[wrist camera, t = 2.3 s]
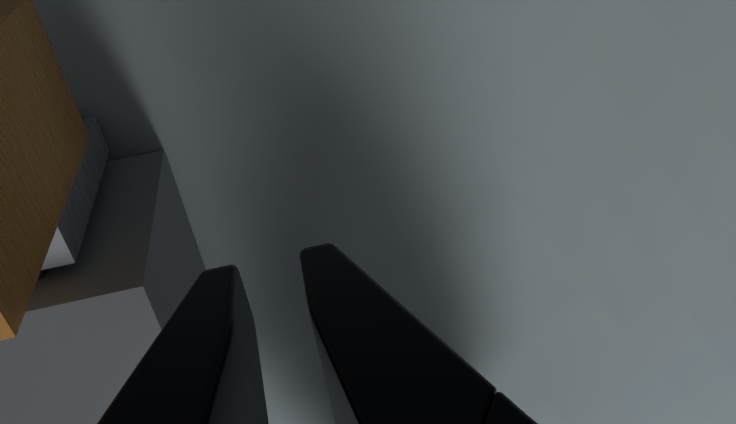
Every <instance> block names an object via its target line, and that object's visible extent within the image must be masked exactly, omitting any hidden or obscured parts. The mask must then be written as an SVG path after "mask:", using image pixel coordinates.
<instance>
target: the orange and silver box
mask: <svg viewBox="0 0 736 424" xmlns="http://www.w3.org/2000/svg"><path fill="white" fill-rule="evenodd" d="M109 152H110V151H109V149H108V146H107V144H106V141H105V139H104V136H103V134H102V131H101V129H100V126H99V124H98V121H97V119H96V116H95V117H90V118H84V119H82V118H81V116H80V113H79V111H78V109H77V106H76V104H75V101H74V99H73V97H72V94H71V92H70V89H69V87H68V85H67V82H66V80H65V77H64V75H63V73H62V70H61V68H60V65H59V63H58V60H57V58H56V56H55V53H54V51H53V48H52V46H51V44H50V41H49V39H48V36H47V34H46V32H45V29H44V27H43V24H42V22H41V20H40V17H39V15H38V12H37V10H36V8H35V5H34V3H33V0H0V341H1V340H6V339H10V338H15V337H16V335H17V333H18V330H19V327H20V325H21V322H22V319H23V317H24V314H25V311H26V309H27V306H28V303H29V301H30V298H31V295H32V293H33V290H34V287H35V285H36V282H37V279H38V277H39V274H40V271H41V270H45V269H50V268H54V267H59V266H63V265H68V264H73V263H75V262H76V259H77V256H78V253H79V249H80V246H81V243H82V240H83V236H84V233H85V230H86V226H87V223H88V220H89V217H90V213H91V210H92V207H93V204H94V200H95V197H96V194H97V191H98V187H99V184H100V181H101V178H102V174H103V171H104V168H105V165H106V161H107V158H108V155H109Z"/></svg>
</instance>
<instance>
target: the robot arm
mask: <svg viewBox="0 0 736 424" xmlns="http://www.w3.org/2000/svg"><path fill="white" fill-rule="evenodd" d="M300 260H301V267H302V273H303V279H304V285H305V292H306V298H307V304H308V308H309V312H310V317H311V321H312V325H313V329H314V333H315V337H316V341H317V346H318V350H319V354H320V358H321V362H322V366H323V371H324V375H325V379H326V383H327V387H328V391H329V395H330V400H331V404H332V408H333V412H334V416H335V420H336V424H537V423H536V422H535V421H534V420H532V419H531V418H530V417H529V416H528V415H526V414H525V413H524V412H523V411H522V410H521V409H520V408H519V407H517V406H516V405H515V404H514V403H513V402H512V401H511V400H510V399H508V398H507V397H506V396H505V395H504V394H503V393H501V392H497V390H496V388H495V387H494V386H493V385H492V384H491V383H490V382H489V381H488V380H486V379H485V378H484V377H483V376H482V375H481V374H480V373H478V372H477V371H476V370H475V369H474V368H473V367H472V366H471V365H469V364H468V363H467V362H466V361H465V360H464V359H463V358H461V357H460V356H459V355H458V354H457V353H456V352H455V351H454V350H452V349H451V348H450V347H449V346H448V345H447V344H446V343H444V342H443V341H442V340H441V339H440V338H439V337H438V336H436V335H435V334H434V333H433V332H432V331H431V330H430V329H429V328H427V327H426V326H425V325H424V324H423V323H422V322H421V321H419V320H418V319H417V318H416V317H415V316H414V315H413V314H412V313H410V312H409V311H408V310H407V309H406V308H405V307H404V306H402V305H401V304H400V303H399V302H398V301H397V300H396V299H395V298H393V297H392V296H391V295H390V294H389V293H388V292H387V291H385V290H384V289H383V288H382V287H381V286H380V285H379V284H377V283H376V282H375V281H374V280H373V279H372V278H371V277H370V276H368V275H367V274H366V273H365V272H364V271H363V270H362V269H360V268H359V267H358V266H357V265H356V264H355V263H354V262H353V261H351V260H350V259H349V258H348V257H347V256H346V255H345V254H343V253H342V252H341V251H340V250H339V249H338V248H337V247H335V246H334V245H333V244H330V243H327V244H322V245H318V246H313V247H309V248H305V249H302V250H301V252H300ZM97 424H268V416H267V408H266V401H265V394H264V387H263V379H262V372H261V365H260V357H259V350H258V343H257V336H256V329H255V323H254V319H253V315H252V311H251V308H250V305H249V302H248V299H247V295H246V292H245V289H244V286H243V282H242V279H241V276H240V273H239V270H238V269H237V267H236V266H234V265H227V266H223V267H218V268H213V269H209V270H205V271H203V272H202V273H201V274H200V275H199V277H198V278H197V280H196V281H195V282H194V284H193V285H192V287H191V288H190V290H189V291H188V293H187V294H186V295H185V297H184V298H183V300H182V301H181V303H180V304H179V306H178V307H177V308H176V310H175V311H174V313H173V314H172V316H171V317H170V319H169V320H168V321H167V323H166V324H165V326H164V327H163V329H162V330H161V332H160V333H159V334H158V336H157V337H156V339H155V340H154V342H153V343H152V345H151V346H150V347H149V349H148V350H147V352H146V353H145V355H144V356H143V358H142V359H141V360H140V362H139V363H138V365H137V366H136V368H135V369H134V371H133V372H132V373H131V375H130V376H129V378H128V379H127V381H126V382H125V384H124V385H123V386H122V388H121V389H120V391H119V392H118V394H117V395H116V397H115V398H114V399H113V401H112V402H111V404H110V405H109V407H108V408H107V410H106V411H105V412H104V414H103V415H102V417H101V418H100V420H99V421H98V423H97Z"/></svg>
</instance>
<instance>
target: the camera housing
mask: <svg viewBox="0 0 736 424" xmlns="http://www.w3.org/2000/svg"><path fill="white" fill-rule="evenodd" d="M203 271H205V267H204V264H203V261H202V258H201V255H200V253H199V250H198V247H197V244H196V241H195V238H194V235H193V232H192V229H191V227H190V224H189V221H188V218H187V215H186V212H185V209H184V206H183V203H182V201H181V198H180V195H179V192H178V189H177V186H176V183H175V180H174V178H173V175H172V172H171V169H170V166H169V163H168V160H167V157H166V154H165V152H164V150H161V151H156V152H151V153H146V154H141V155H136V156H131V157H126V158H121V159H116V160H111V161H106V165H105V168H104V171H103V174H102V178H101V181H100V184H99V187H98V191H97V194H96V197H95V200H94V204H93V207H92V210H91V213H90V217H89V220H88V223H87V226H86V230H85V233H84V236H83V240H82V243H81V246H80V249H79V253H78V256H77V259H76V262H75V263H73V264H68V265H63V266H59V267H54V268H50V269H45V270H41V271H40V274H39V277H38V279H37V282H36V285H35V287H34V290H33V293H32V295H31V298H30V301H29V303H28V306H27V309H26V311H25V314H24V317H23V319H22V322H21V325H20V327H19V330H18V333H17V335H16V337H15V338H10V339H6V340H1V341H0V424H97V423H98V421H99V420H100V418H101V417H102V415H103V414H104V412H105V411H106V410H107V408H108V407H109V405H110V404H111V402H112V401H113V399H114V398H115V397H116V395H117V394H118V392H119V391H120V389H121V388H122V386H123V385H124V384H125V382H126V381H127V379H128V378H129V376H130V375H131V373H132V372H133V371H134V369H135V368H136V366H137V365H138V363H139V362H140V360H141V359H142V358H143V356H144V355H145V353H146V352H147V350H148V349H149V347H150V346H151V345H152V343H153V342H154V340H155V339H156V337H157V336H158V334H159V333H160V332H161V330H162V329H163V327H164V326H165V324H166V323H167V321H168V320H169V319H170V317H171V316H172V314H173V313H174V311H175V310H176V308H177V307H178V306H179V304H180V303H181V301H182V300H183V298H184V297H185V295H186V294H187V293H188V291H189V290H190V288H191V287H192V285H193V284H194V282H195V281H196V280H197V278H198V277H199V275H200V274H201V273H202V272H203Z"/></svg>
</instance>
